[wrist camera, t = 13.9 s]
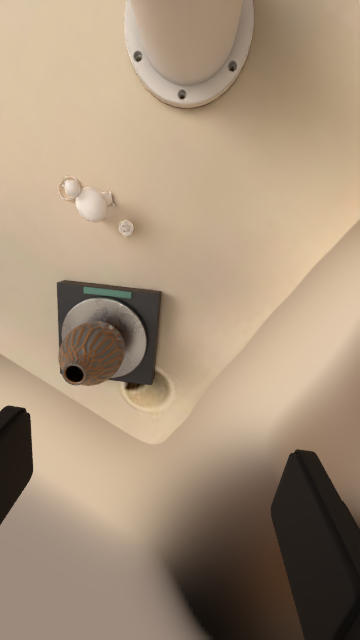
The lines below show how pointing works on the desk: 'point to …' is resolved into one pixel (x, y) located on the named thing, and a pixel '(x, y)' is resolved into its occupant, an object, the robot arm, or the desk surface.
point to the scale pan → (118, 318)
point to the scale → (137, 299)
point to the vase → (91, 353)
